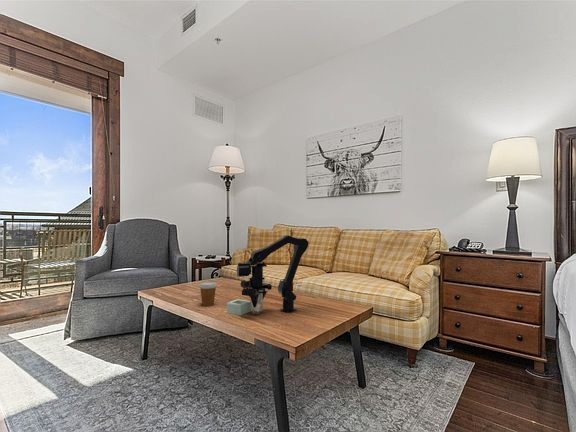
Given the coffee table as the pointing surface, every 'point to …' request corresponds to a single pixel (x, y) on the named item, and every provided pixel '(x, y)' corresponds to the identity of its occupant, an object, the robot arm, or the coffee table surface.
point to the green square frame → (239, 307)
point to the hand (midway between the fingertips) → (257, 306)
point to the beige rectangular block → (258, 305)
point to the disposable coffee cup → (208, 293)
